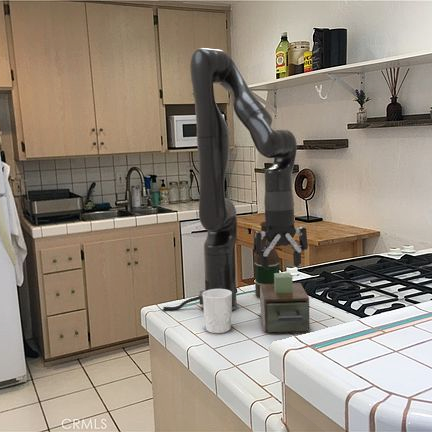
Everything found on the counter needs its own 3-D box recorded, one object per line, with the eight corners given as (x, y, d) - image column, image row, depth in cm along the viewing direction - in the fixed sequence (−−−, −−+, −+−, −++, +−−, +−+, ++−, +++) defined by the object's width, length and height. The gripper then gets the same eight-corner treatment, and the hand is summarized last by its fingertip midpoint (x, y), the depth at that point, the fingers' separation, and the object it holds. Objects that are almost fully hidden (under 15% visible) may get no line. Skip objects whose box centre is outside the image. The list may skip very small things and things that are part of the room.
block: (276, 293, 135) (275, 277, 134) (274, 288, 139) (273, 273, 138) (292, 293, 134) (292, 277, 134) (290, 288, 139) (290, 272, 138)
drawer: (311, 338, 125) (311, 310, 124) (269, 339, 125) (269, 311, 124) (300, 313, 142) (300, 288, 141) (263, 314, 142) (262, 290, 141)
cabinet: (309, 331, 131) (309, 298, 130) (265, 332, 132) (264, 299, 130) (300, 313, 145) (300, 282, 143) (260, 314, 145) (259, 284, 144)
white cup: (199, 326, 138) (197, 291, 136) (225, 321, 141) (224, 287, 139) (210, 336, 130) (209, 299, 129) (238, 330, 134) (236, 294, 132)
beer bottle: (284, 295, 161) (283, 222, 157) (266, 301, 157) (265, 225, 153) (268, 290, 167) (267, 219, 163) (250, 295, 163) (248, 222, 159)
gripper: (298, 203, 136) (300, 261, 138) (248, 208, 133) (251, 267, 135) (310, 206, 129) (312, 268, 131) (258, 211, 126) (260, 274, 128)
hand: (281, 267), depth 133 cm, fingers open, 8 cm apart
